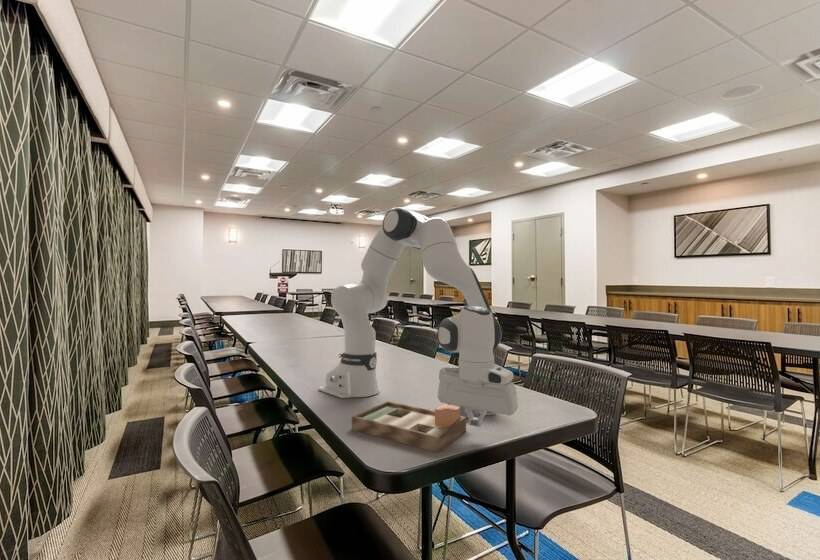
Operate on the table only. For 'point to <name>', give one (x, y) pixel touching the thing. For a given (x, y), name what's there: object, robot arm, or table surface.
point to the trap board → (407, 425)
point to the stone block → (463, 413)
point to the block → (446, 415)
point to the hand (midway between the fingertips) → (475, 425)
